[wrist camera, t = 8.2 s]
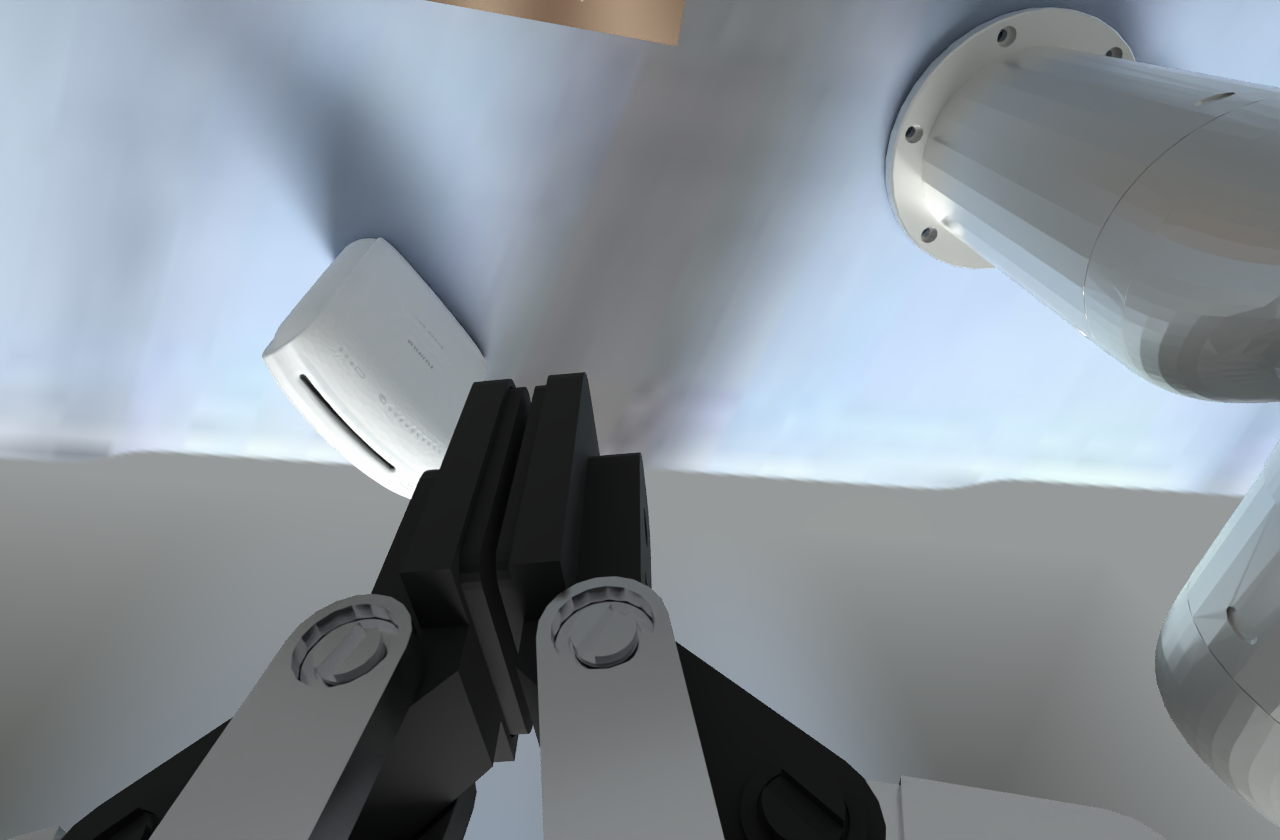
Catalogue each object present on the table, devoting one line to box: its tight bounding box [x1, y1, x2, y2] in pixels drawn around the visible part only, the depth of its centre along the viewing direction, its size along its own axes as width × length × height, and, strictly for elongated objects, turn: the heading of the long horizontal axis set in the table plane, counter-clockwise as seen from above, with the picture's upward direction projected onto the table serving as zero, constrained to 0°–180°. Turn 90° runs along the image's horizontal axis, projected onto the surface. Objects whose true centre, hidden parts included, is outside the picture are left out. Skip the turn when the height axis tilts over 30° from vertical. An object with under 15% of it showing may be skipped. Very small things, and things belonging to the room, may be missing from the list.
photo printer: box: [262, 237, 487, 499], centre depth 35 cm, size 10×4×12 cm, turn 31°
